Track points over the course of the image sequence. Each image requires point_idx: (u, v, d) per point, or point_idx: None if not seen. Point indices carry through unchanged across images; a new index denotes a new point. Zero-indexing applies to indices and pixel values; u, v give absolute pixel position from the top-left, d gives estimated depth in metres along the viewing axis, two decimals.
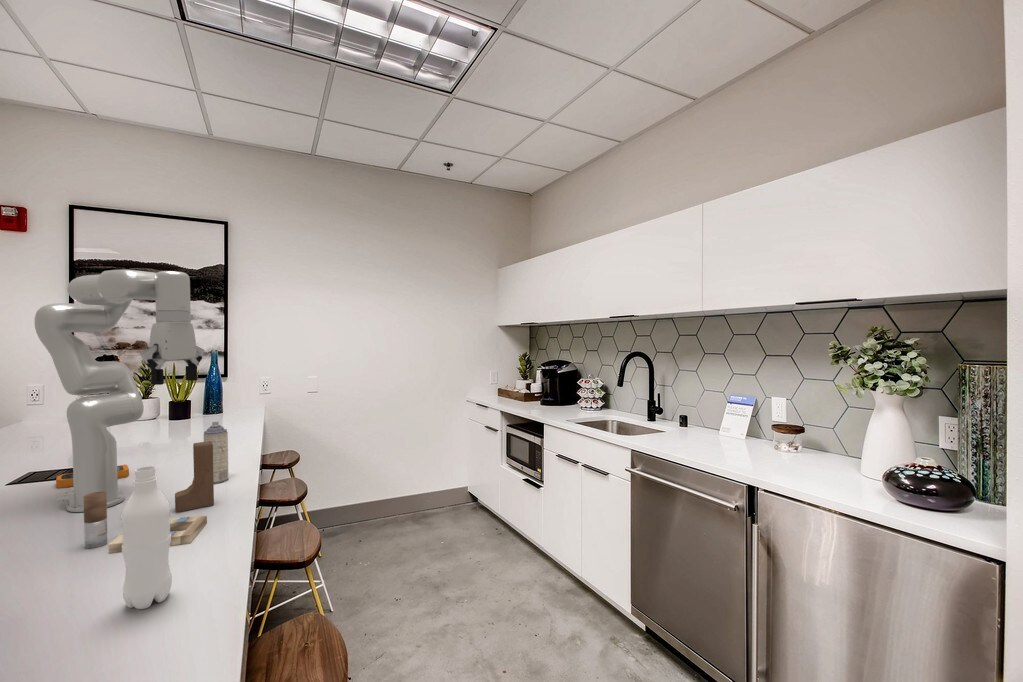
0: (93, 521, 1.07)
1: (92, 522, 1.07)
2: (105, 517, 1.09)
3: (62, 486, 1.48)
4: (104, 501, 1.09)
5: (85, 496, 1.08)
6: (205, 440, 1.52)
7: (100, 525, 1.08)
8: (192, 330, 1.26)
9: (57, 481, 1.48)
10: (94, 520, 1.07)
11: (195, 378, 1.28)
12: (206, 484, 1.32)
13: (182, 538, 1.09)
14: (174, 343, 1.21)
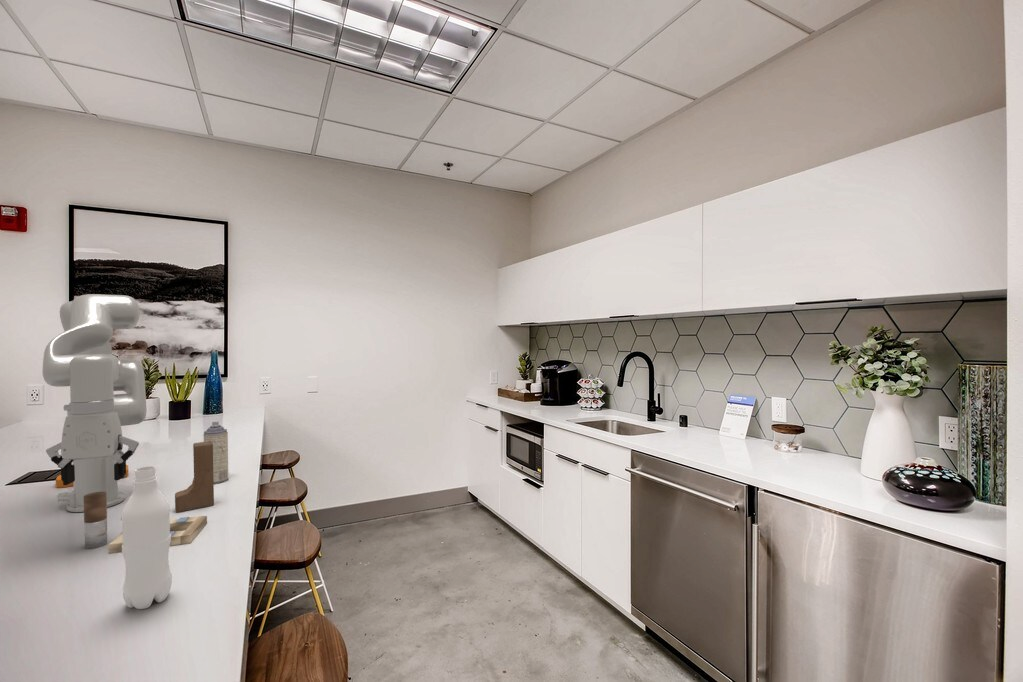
0: (93, 521, 1.07)
1: (92, 522, 1.07)
2: (105, 517, 1.09)
3: (61, 486, 1.48)
4: (104, 501, 1.09)
5: (85, 496, 1.08)
6: (205, 440, 1.52)
7: (100, 525, 1.08)
8: None
9: (56, 481, 1.49)
10: (94, 520, 1.07)
11: None
12: (206, 484, 1.32)
13: (182, 538, 1.09)
14: None
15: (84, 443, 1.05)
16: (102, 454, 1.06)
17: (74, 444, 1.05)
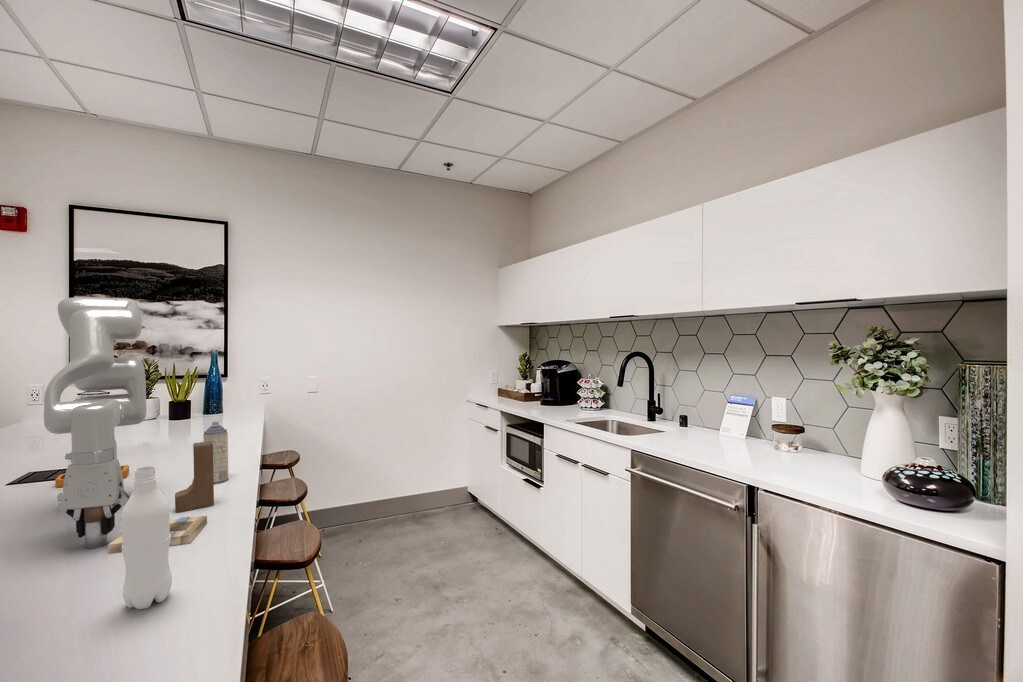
0: (93, 521, 1.07)
1: (92, 522, 1.07)
2: None
3: (60, 486, 1.49)
4: None
5: None
6: (205, 440, 1.52)
7: (100, 525, 1.08)
8: None
9: (56, 480, 1.49)
10: (94, 520, 1.07)
11: None
12: (206, 484, 1.32)
13: (182, 538, 1.09)
14: None
15: (85, 493, 1.06)
16: (103, 503, 1.07)
17: (75, 494, 1.05)
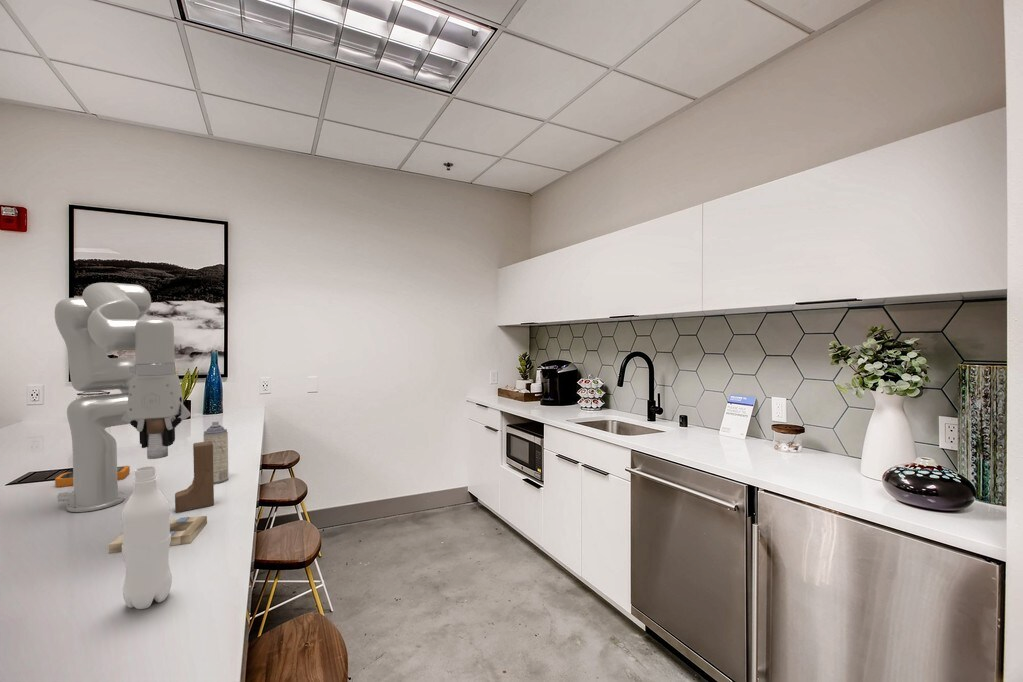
0: (155, 432, 1.10)
1: (154, 433, 1.10)
2: None
3: (59, 485, 1.49)
4: None
5: None
6: (205, 440, 1.52)
7: (161, 436, 1.11)
8: None
9: (55, 480, 1.50)
10: (156, 431, 1.10)
11: None
12: (206, 484, 1.32)
13: (182, 538, 1.09)
14: None
15: (149, 403, 1.09)
16: (165, 415, 1.10)
17: (139, 404, 1.09)
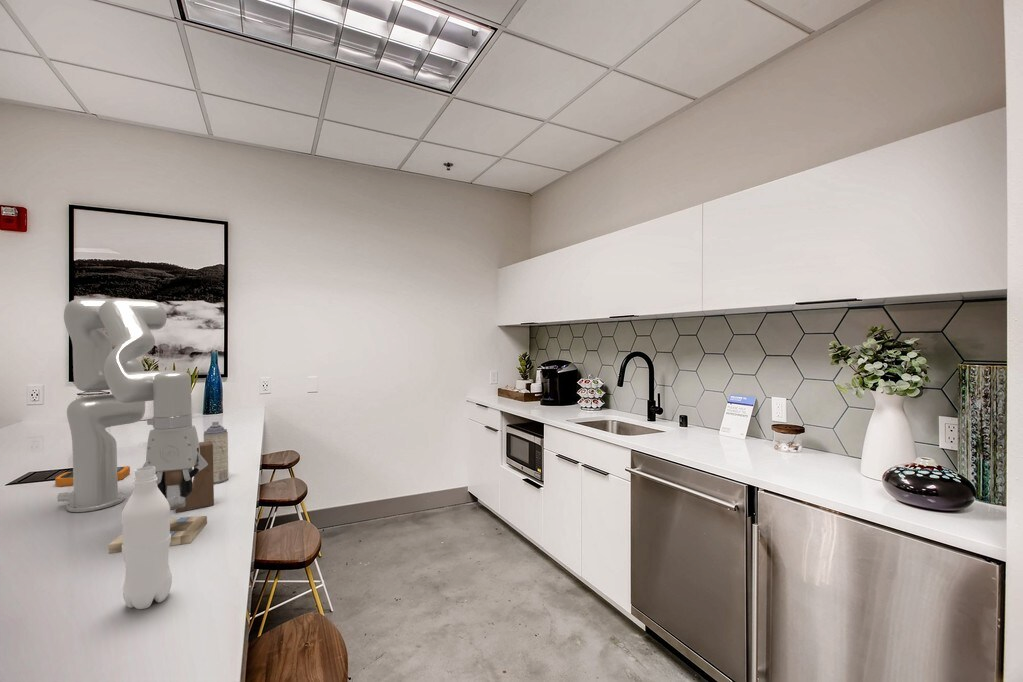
0: (174, 484, 1.12)
1: (173, 485, 1.12)
2: None
3: (58, 485, 1.50)
4: None
5: None
6: (205, 440, 1.52)
7: (179, 488, 1.13)
8: None
9: (55, 479, 1.50)
10: (174, 483, 1.12)
11: None
12: (206, 484, 1.32)
13: (182, 538, 1.09)
14: None
15: (167, 456, 1.11)
16: (184, 466, 1.12)
17: (158, 457, 1.10)
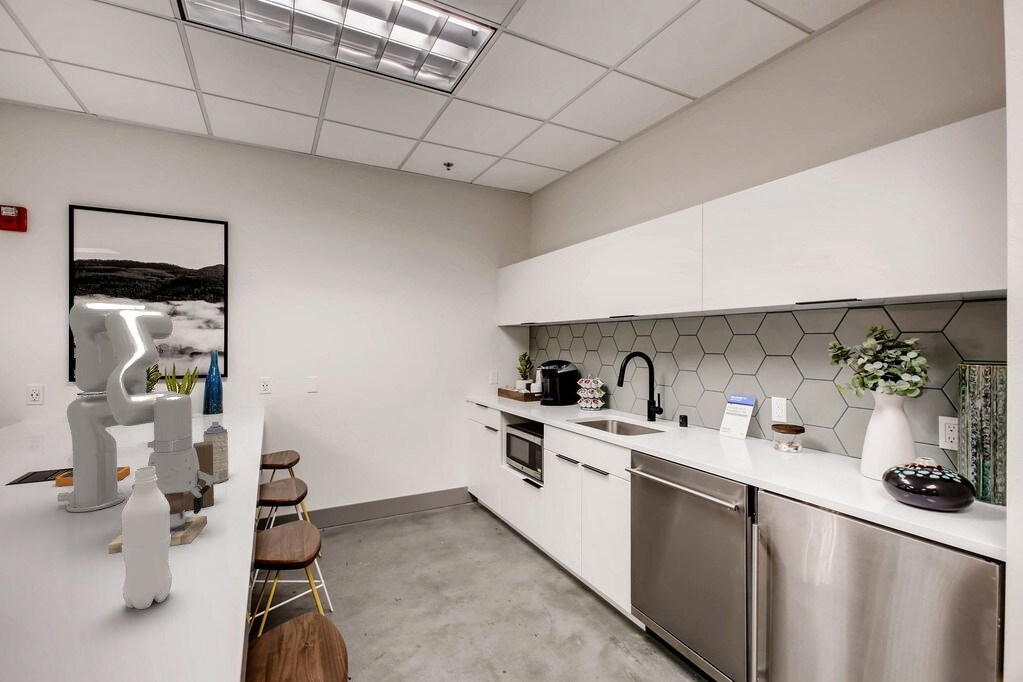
0: (173, 513, 1.12)
1: (173, 514, 1.12)
2: (183, 509, 1.14)
3: (58, 484, 1.50)
4: (183, 494, 1.14)
5: None
6: (205, 440, 1.52)
7: (179, 516, 1.13)
8: None
9: None
10: (174, 512, 1.12)
11: None
12: None
13: (182, 538, 1.09)
14: None
15: (167, 479, 1.11)
16: (184, 489, 1.12)
17: (158, 480, 1.10)
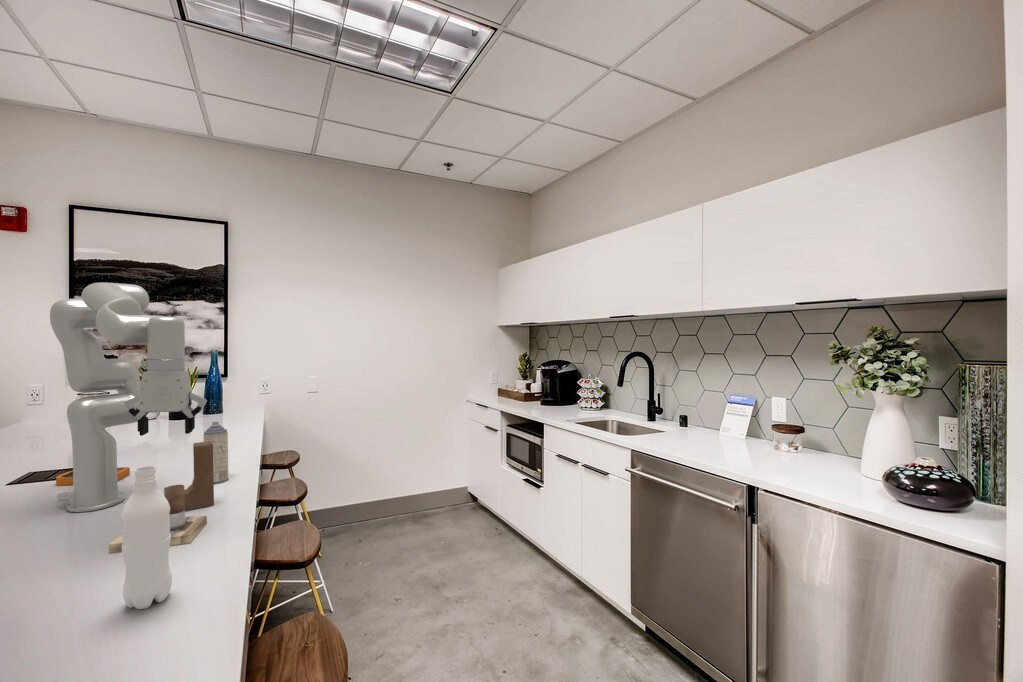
0: (173, 513, 1.12)
1: (173, 514, 1.12)
2: (183, 509, 1.14)
3: (58, 484, 1.50)
4: (183, 494, 1.14)
5: (166, 489, 1.12)
6: (205, 440, 1.52)
7: (179, 516, 1.13)
8: None
9: (56, 478, 1.51)
10: (174, 512, 1.12)
11: None
12: (206, 484, 1.32)
13: (182, 538, 1.09)
14: None
15: (159, 397, 1.14)
16: (175, 408, 1.15)
17: (150, 398, 1.13)
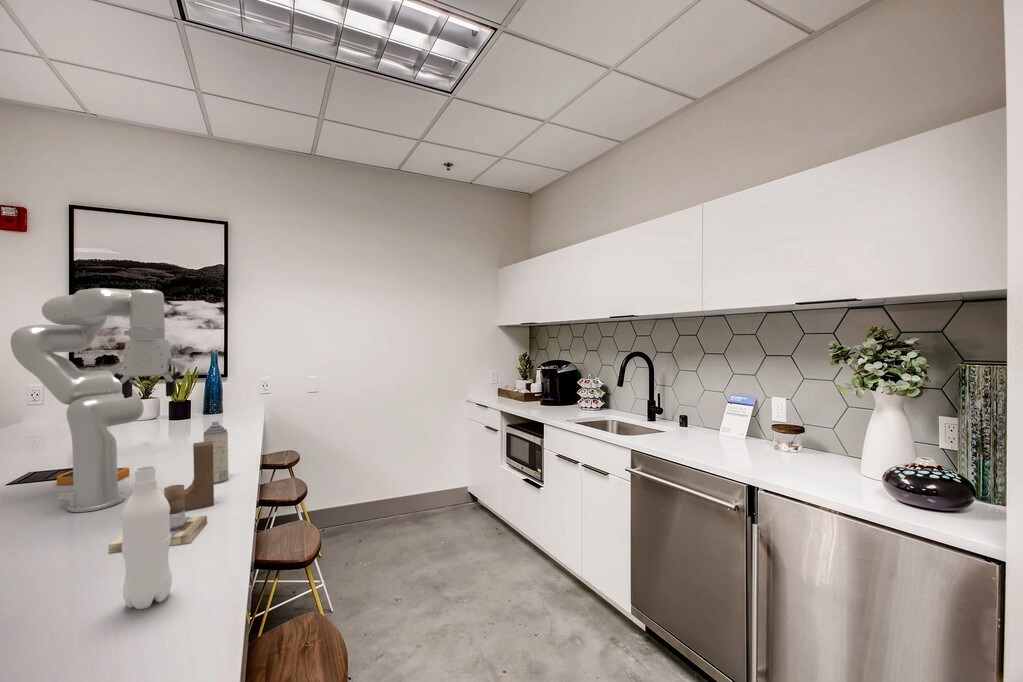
0: (173, 513, 1.12)
1: (173, 514, 1.12)
2: (183, 509, 1.14)
3: (58, 483, 1.51)
4: (183, 494, 1.14)
5: (166, 489, 1.12)
6: (205, 440, 1.52)
7: (179, 516, 1.13)
8: None
9: None
10: (174, 512, 1.12)
11: None
12: (206, 484, 1.32)
13: (182, 538, 1.09)
14: None
15: (141, 363, 1.25)
16: (156, 373, 1.26)
17: (133, 363, 1.24)
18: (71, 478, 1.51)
